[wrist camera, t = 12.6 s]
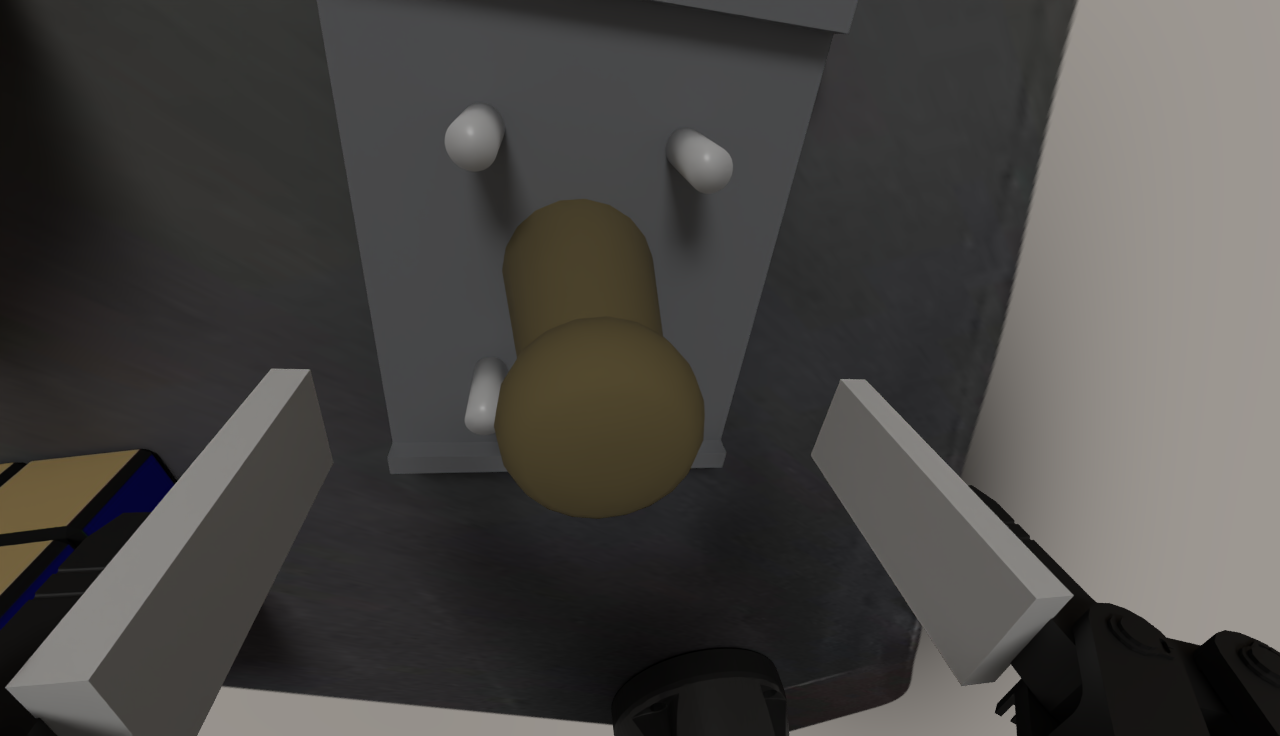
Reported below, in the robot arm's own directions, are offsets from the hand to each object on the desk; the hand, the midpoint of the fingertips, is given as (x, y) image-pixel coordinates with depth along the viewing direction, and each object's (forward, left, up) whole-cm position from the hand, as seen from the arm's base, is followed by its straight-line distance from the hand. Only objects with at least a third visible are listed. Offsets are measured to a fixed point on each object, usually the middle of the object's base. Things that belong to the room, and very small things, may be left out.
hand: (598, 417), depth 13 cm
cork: (0, 0, -9) cm, 9 cm away
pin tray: (0, 0, -11) cm, 11 cm away
